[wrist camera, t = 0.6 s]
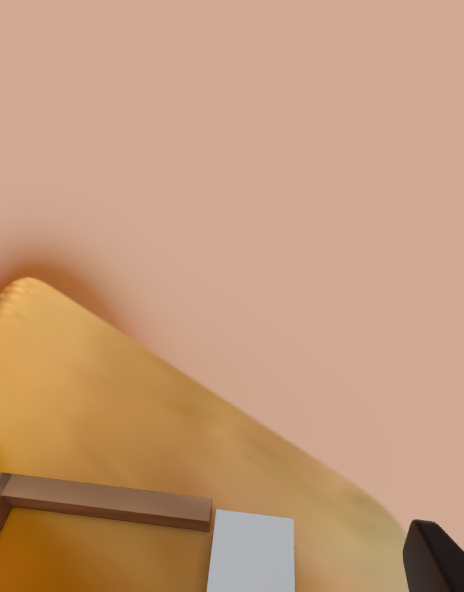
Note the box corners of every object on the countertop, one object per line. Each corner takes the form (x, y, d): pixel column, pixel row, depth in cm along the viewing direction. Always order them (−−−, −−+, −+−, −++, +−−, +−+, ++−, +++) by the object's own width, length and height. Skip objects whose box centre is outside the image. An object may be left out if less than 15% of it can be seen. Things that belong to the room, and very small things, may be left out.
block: (283, 632, 19) (295, 619, 17) (205, 621, 19) (204, 607, 17) (283, 541, 22) (293, 518, 19) (215, 533, 22) (216, 509, 20)
